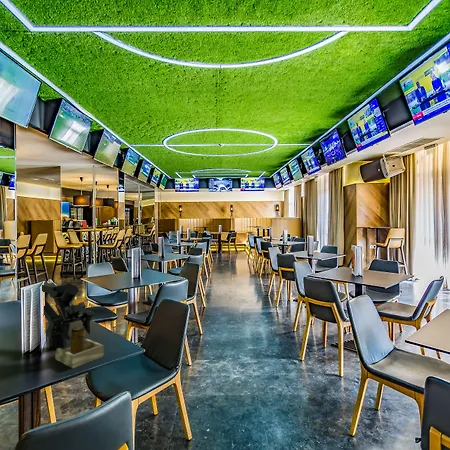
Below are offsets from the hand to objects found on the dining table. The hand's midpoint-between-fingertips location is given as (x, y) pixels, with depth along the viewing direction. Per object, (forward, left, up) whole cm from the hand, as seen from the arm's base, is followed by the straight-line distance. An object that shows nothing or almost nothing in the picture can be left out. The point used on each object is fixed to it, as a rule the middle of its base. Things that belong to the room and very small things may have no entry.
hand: (79, 336), depth 136 cm
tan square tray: (0, 0, -9) cm, 9 cm away
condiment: (0, 0, -9) cm, 9 cm away
